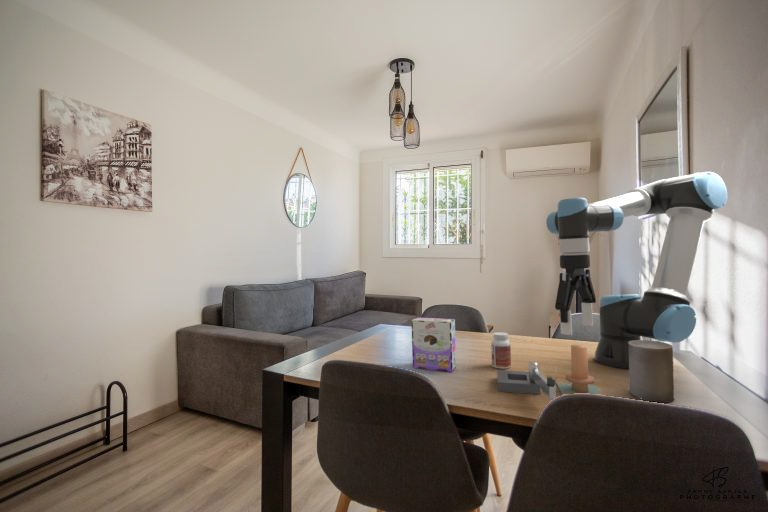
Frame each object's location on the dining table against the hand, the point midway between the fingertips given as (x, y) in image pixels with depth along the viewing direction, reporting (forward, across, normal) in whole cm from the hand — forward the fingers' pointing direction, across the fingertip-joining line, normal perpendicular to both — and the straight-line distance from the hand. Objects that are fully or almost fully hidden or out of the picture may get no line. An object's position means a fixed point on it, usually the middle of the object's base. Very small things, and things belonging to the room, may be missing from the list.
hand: (577, 329), depth 106 cm
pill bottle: (+16, -1, -26) cm, 31 cm away
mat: (+16, +3, +1) cm, 17 cm away
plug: (+16, +3, +1) cm, 16 cm away
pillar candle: (+17, -7, +15) cm, 24 cm away
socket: (+16, +11, -13) cm, 23 cm away
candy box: (+16, +16, -40) cm, 46 cm away
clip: (+13, +17, -2) cm, 22 cm away
